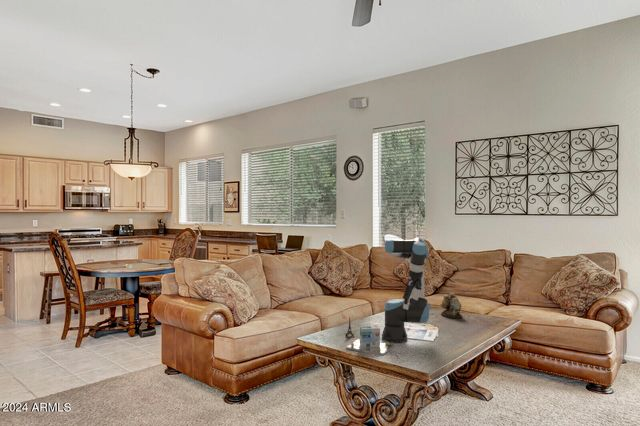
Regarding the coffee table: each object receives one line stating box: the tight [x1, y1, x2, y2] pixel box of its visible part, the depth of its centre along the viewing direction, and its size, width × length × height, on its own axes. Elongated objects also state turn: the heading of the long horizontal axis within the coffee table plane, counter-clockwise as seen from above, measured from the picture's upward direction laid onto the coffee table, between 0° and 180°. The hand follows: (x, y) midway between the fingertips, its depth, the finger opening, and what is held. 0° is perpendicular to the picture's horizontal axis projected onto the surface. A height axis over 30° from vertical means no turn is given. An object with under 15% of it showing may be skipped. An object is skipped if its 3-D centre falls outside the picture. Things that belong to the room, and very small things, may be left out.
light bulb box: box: [359, 324, 381, 348], centre depth 246 cm, size 11×7×11 cm, turn 95°
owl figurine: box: [440, 292, 464, 320], centre depth 315 cm, size 18×12×17 cm, turn 34°
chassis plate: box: [345, 338, 394, 356], centre depth 246 cm, size 16×22×3 cm
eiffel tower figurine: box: [336, 316, 360, 339], centre depth 268 cm, size 15×10×13 cm
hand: (410, 304), depth 244 cm, fingers open, 13 cm apart
